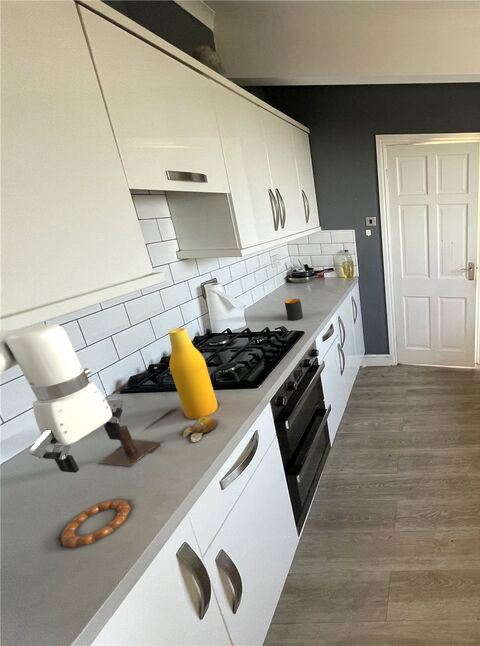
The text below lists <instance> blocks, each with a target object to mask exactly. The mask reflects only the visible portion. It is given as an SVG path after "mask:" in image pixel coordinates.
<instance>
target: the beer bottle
mask: <svg viewBox="0 0 480 646" xmlns="http://www.w3.org/2000/svg"><path fill="white" fill-rule="evenodd" d="M168 336H169V342H170V347H171V354H170V357H169V362H168V363H169V364H168V365H169V370H170V373H171V376H172V379H173V382H174V386H175V388H176V391H177V394H178V397H179V400H180V404H181V406H182V410H183V413H184V416H185V417H186V418H187V419H189V420H198V419H199V418H202V417H209V416H210V415H212V414H213V413H215V412H216V410H217V409H218V401H217V398H216V395H215V391H214V387H213V384H212V380H211V377H210V374H209V371H208V367H207V363H206V360H205V358H204V356H203V354H202V352H200V351H199V350H198V349H197V348H196V347H195V346H194V344H193V342H192V341H191V338H190V335H189V333H188V331H187V329H186V328H185V327H177V328H173V329H171V330H169V331H168Z"/></svg>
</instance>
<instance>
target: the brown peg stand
mask: <svg viewBox="0 0 480 646" xmlns="http://www.w3.org/2000/svg"><path fill="white" fill-rule="evenodd" d="M120 427H121V429H122V432H123V436H124V439H122V440H119V443H120V446H121V448H119V449H118V450H117V451H115V452H114V453H112V454H111V455H109V456H108V457H107V458H105V459H104V460H103V461H101V462H100V464H101V465H109V466H111V465H113V466H121V467H123V466H124V467H132V466H133V465H134V464H135V463H136V462H138V461H139V460H141V459H142V458H143V457H144V456H145V455H147V454H153V453H154V452H155V451H156V450H158V449H159V448H160V447H161V444H160V442H159V441H158V442H156V441H148V440H147V441H146V440H134V439H133V438H132V435H131V432H130V430H129V427H128V426H127V425H120Z"/></svg>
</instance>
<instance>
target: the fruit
mask: <svg viewBox="0 0 480 646" xmlns="http://www.w3.org/2000/svg"><path fill="white" fill-rule="evenodd" d="M216 428H217V422H216V420H215V419H214V418H213V417H211V416H206V417H202V418H199V419H196V421H195V422H194V424H193V426H192V427H190V426H189V427H187V428H185V430H183V433H182V438H186V437H188V435H189V434H191V433H192V434H191V435H190V441H189V442H190V443H196V442H199V441H201V440H202V439H203V434H204V433H210V432H212V431H214V430H216Z"/></svg>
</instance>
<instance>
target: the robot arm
mask: <svg viewBox="0 0 480 646" xmlns="http://www.w3.org/2000/svg"><path fill="white" fill-rule="evenodd" d="M17 365H18V366H19V368H20V370H21V372H22V374H23V375H24V377H25V380H26V381H27V383H28V385H29V387H30V388H31V390H32V393H33V394H34V396H35V398H36V400H35V401H33V402H32V409H33V414H34V418H35V419H34V420H35V422H36V424H37V427H38V430H39V432H40V434H41V436H40V437H39V438H38V439H37V440H36V442H35V443H34V444H33V445H32V446H31V447H30V448H29V450H28V452H27V453H28V454H29V455H31V456H34V457H35V458H38V459H42V460H43V459H44V460H54V462H55V463H56V465H57V467H58V468H59V471H61V472H63V473H72V474H73V473H74V474H76V473H78V472H79V471H80V468H79V465H78V463H77V462H76V459H75V458H74V456H73V455H71V454H69V453H70V449H71V446H72V445H73V444H75V443H76V442H78V441H80V440H81V439H83V438H85V437H86V436H88V435H89V434H91V433H93V432H94V431H96V430H97V429H99V428H100V427H101V426H103V428H104V430H105V432H106V434H107V436H108V438H109V440H113V441H114V440H115V441H120V440H122V439H124V436H123V432H122V429H121V427H120V426H121V425H120V423H121V420H122V419H121V416H122V413H123V403H124V400H123V398H111V399H106V397H105V396H104V395H103V393H102V392H101V390H100V389H99V387H98V386H97V385H96V384H95V383H94V382H93V381H92V380H89V378H88V375H90V374H91V373H92V371H91V369H90V368H88V367H85V368H83V366H82V364H81V362H80V359H79V357H78V355H77V353H76V351H75V349H74V346H73V344H72V343H71V340H70V338H69V335H68V333H67V332H66V330H65V328H64V327H62V326H61V325H59V324H56V323H43V324H37V325H32V326H27V327H24V328H15V329H14V328H13V329H0V376H1V375H2V374H3V373H4V372H6V371H8V370H10V369H11V368H13V367H15V366H17ZM111 408H112V409H111ZM47 446H51V448H50V451H48V450H46V447H47Z"/></svg>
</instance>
